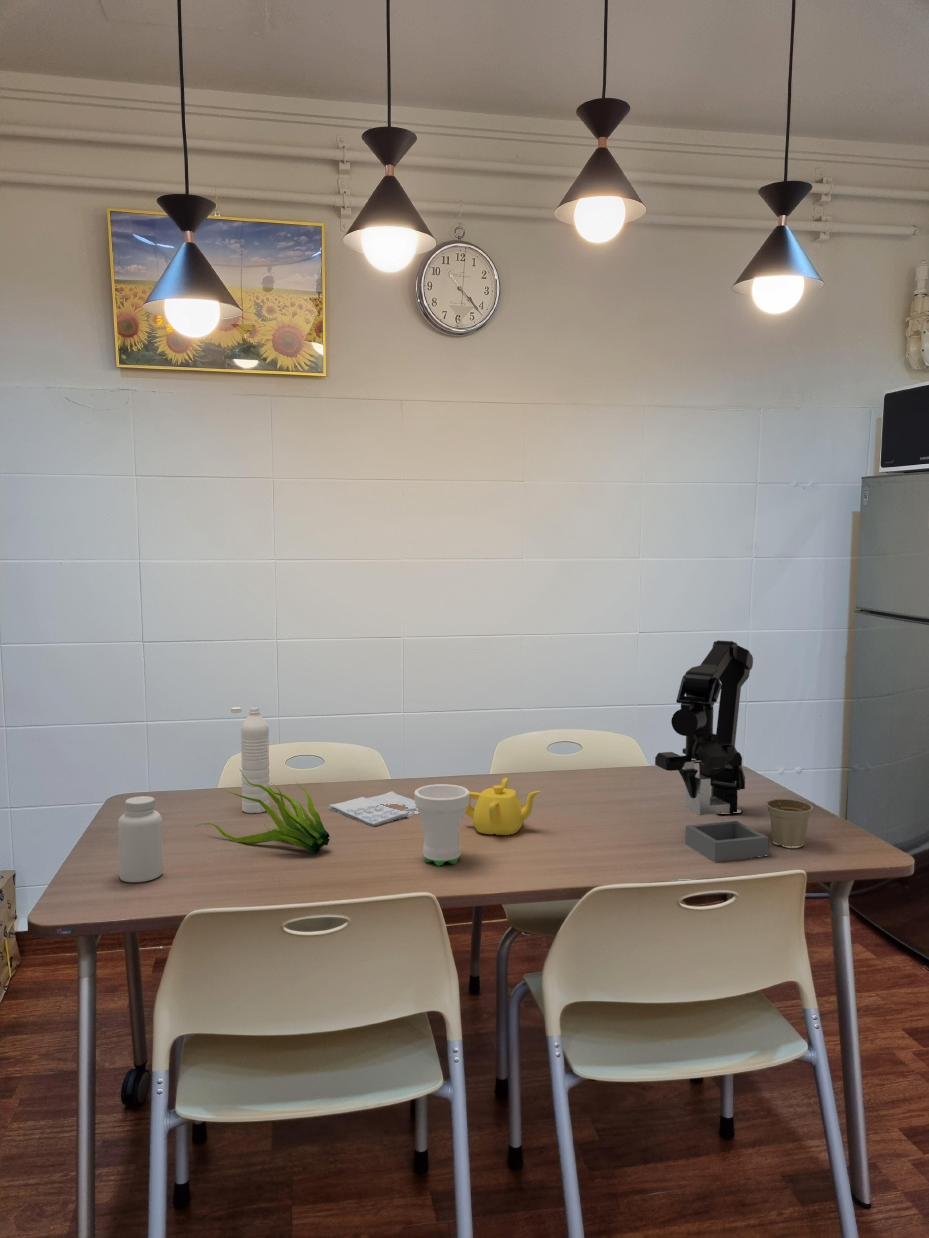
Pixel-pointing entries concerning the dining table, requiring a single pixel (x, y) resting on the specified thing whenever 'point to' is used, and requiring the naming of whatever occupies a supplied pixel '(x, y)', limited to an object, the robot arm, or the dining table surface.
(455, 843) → the cup
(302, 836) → the decorative plant
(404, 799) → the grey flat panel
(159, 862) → the pill bottle
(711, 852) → the bin
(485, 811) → the teapot
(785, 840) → the flower pot
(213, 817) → the dining table surface
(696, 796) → the bracket
